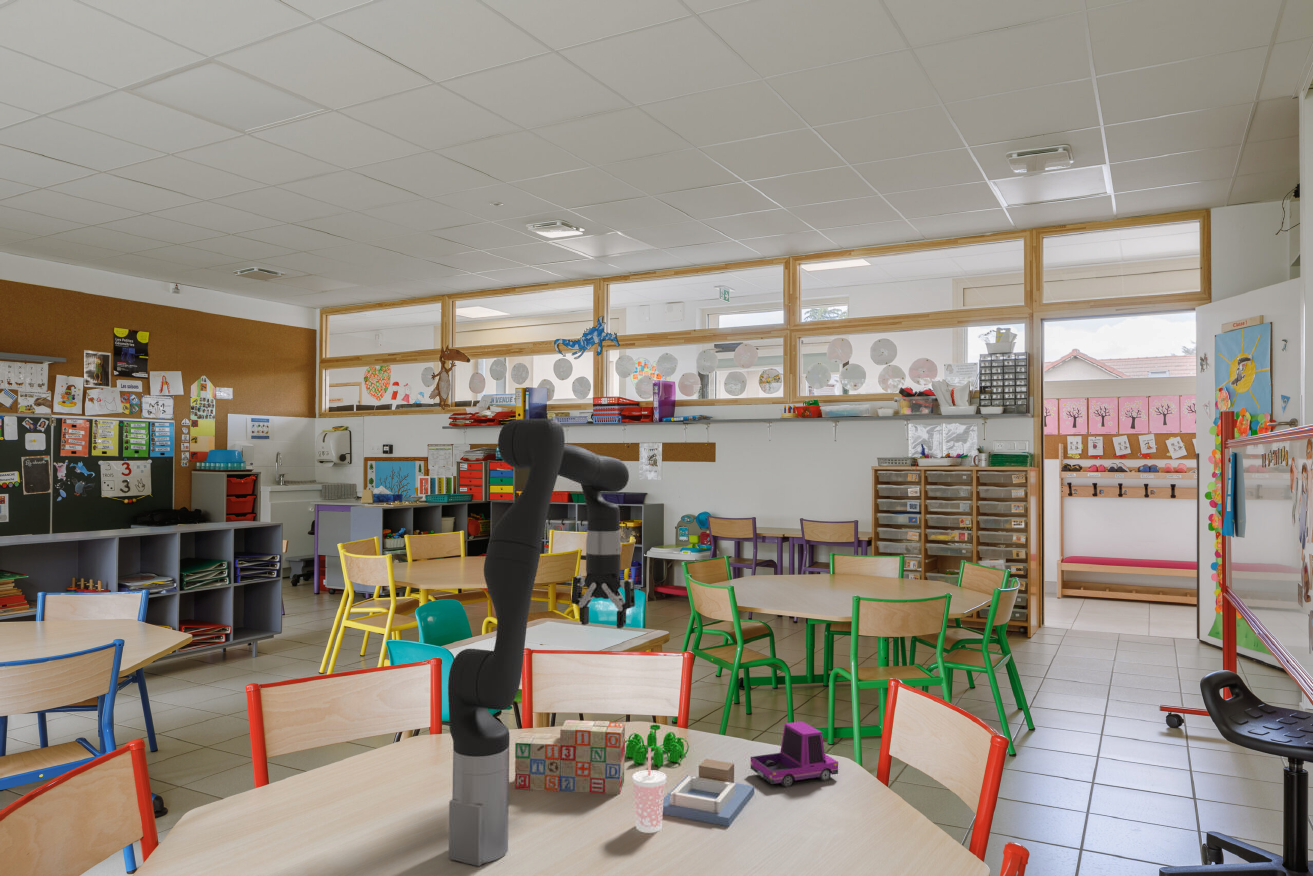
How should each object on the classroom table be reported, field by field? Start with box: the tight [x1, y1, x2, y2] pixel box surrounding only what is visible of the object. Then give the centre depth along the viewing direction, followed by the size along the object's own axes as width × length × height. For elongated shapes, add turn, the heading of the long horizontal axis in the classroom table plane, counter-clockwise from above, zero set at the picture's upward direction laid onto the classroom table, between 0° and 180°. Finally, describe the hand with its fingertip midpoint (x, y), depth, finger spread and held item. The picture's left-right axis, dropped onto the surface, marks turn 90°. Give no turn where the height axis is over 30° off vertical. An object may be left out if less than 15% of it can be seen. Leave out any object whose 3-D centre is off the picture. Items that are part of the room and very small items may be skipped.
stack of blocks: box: [514, 719, 626, 795], centre depth 168 cm, size 21×6×12 cm, turn 84°
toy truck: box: [750, 721, 839, 788], centre depth 174 cm, size 11×16×10 cm
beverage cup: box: [631, 747, 667, 834], centre depth 150 cm, size 6×6×14 cm
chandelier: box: [625, 724, 690, 768], centre depth 185 cm, size 15×15×7 cm
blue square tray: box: [663, 758, 755, 827], centre depth 160 cm, size 16×14×6 cm
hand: (602, 626), depth 182 cm, fingers open, 8 cm apart
